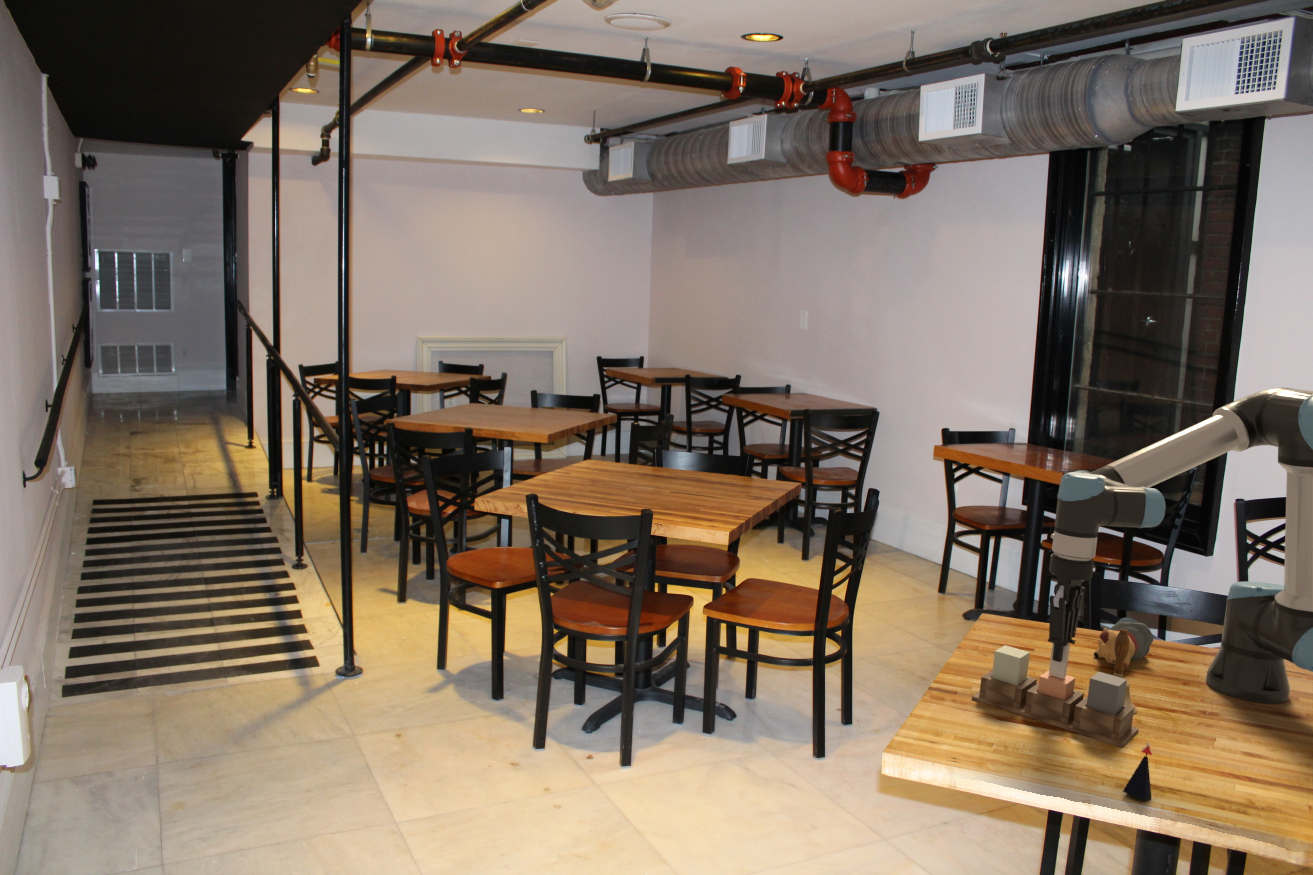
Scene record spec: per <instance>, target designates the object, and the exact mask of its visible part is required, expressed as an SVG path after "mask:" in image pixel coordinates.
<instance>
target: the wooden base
mask: <svg viewBox="0 0 1313 875" xmlns="http://www.w3.org/2000/svg"><path fill="white" fill-rule="evenodd" d="M992 672H993V669H992V670H991V671H989V672H986V674H983V675H982V676H981V678H980V685H979V691H978V692H977V693H975V694H974V695H972V696H971V700H972V701H973V700H974V701H978V702H979V703H983V704H986V705H989V706H992V707H995V708H999V709H1000V710H1001V709H1002V710H1005V711H1006V712H1007V711H1009V712H1011V713H1013V714H1017V715H1021V716H1022V717H1023V716H1024V717H1027V718H1029V719H1032V720H1034V721H1039V722H1041V723H1045V724H1048V725H1051V726H1054V727H1058V728H1059V729H1060V728H1061V729H1063V730H1067V731H1070V732H1072V733H1076V734H1078V735H1082V736H1085V737H1088V738H1091V739H1095V740H1097V741H1100V742H1104V743H1107V744H1110V745H1112V746H1116V747H1120V748H1123V747H1124V746H1125V745H1126V744H1128V742H1129V741H1130V740H1131V739H1132V738H1133V737H1134V736H1135V735H1136V734H1137V733H1138V732H1139V727H1136V726H1133V719H1134V715H1133V713H1134V707H1130V706H1127V705H1123V710H1122V711H1121V712H1120V713H1119V714H1118V715H1116V716H1115V715H1112V714H1109V713H1105V712H1102V711H1099V710H1096V709H1092V708H1089V707H1086V706H1087V698H1088V695H1087V696H1086V697H1085V692H1082V691H1080V690H1076V689H1074V693H1073V695H1072V696H1070V697H1069V698H1068V699H1067V700H1063V699H1060V698H1056V697H1053V696H1050V695H1046V694H1043V693H1040V692H1038V685H1039V682H1038V678H1035V677H1033V676H1029V675H1027V680H1026V681H1024V682H1023V683H1021V684H1020V685H1018V686H1017V685H1014V684H1010V683H1007V682H1004V681H1001V680H997V679H994V678H992Z"/></svg>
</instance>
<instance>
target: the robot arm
mask: <svg viewBox="0 0 1313 875" xmlns="http://www.w3.org/2000/svg"><path fill="white" fill-rule="evenodd" d="M1259 446H1273V447H1276V448H1277V464H1279V465H1280V466H1281V467H1282V468H1283V469H1284V470H1285V471H1286V487H1285V488H1286V494H1285V497H1286V498H1285V531H1284V532H1285V533H1284V536H1285V537H1284V572H1283V573H1284V574H1283V575H1284V577H1283V585H1282V584H1277V583H1271V582H1270V583H1268V582H1261V581H1259V582H1258V581H1236V582H1234V583H1232V584H1231V585H1230V587H1229V590H1228V595H1227V597H1226V605H1225V611H1224V617H1223V618H1224V619H1223V628H1222V633H1221V634H1222V635H1221V640H1220V641H1221V642H1220V647H1219V650H1218V651H1217V653H1216V655H1215V656H1214V658H1213V660H1212V661H1211V663H1210V665H1209V667H1208V669H1207V671H1206V678H1205V682H1206V683H1207V684H1208V686H1209V687H1211V688H1212V689H1214V690H1216V691H1217V692H1220V693H1222V694H1225V695H1228V696H1230V697H1233V698H1235V699H1236V698H1237V699H1241V700H1245V701H1250V702H1256V703H1261V704H1283V703H1285V702H1288V701H1289V699H1290V697H1289V696H1290V691H1291V689H1290V688H1291V687H1290V683H1289V679H1288V674H1287V669H1286V665H1285V664H1286V663H1285V661H1287V662H1289V663H1292V664H1293V665H1295V666H1296V667H1298V668H1299V669H1302V670H1306V671H1309V672H1311V673H1313V391H1312V390H1305V389H1297V388H1289V387H1274V388H1268V389H1265V390H1260V391H1258V392H1257V391H1256V392H1254V393H1252V394H1249V395H1246V396H1244V397H1241V398H1239V399H1237V400H1234V401H1232V402H1230V403H1227V404H1225V405H1223V406H1220V407H1218V408H1217V409H1214V411H1213V413H1212V416H1210V417H1209V418H1206V419H1205V420H1203V421H1202V420H1201V421H1199V422H1198V423H1196V424H1193V425H1191V426H1188V427H1187V428H1185V429H1182V430H1180V431H1178V432H1176V433H1174V434H1171V435H1169V436H1168V437H1165V438H1164V439H1161V440H1158V441H1157V442H1156V441H1155V442H1154V443H1152V444H1150V445H1148V446H1146V447H1143V448H1141V449H1140V450H1137V451H1135V452H1132V453H1130V454H1128V455H1126V456H1124V457H1122V458H1120V459H1117V460H1115V461H1113V462H1110V463H1109V464H1106V465H1104V466H1102V467H1099V468H1097V469H1095V470H1093V471H1090V470H1089V471H1088V470H1074V471H1071V472H1070V471H1069V472H1066V473H1064V474H1063V475H1062V476H1061V479H1060V484H1059V486H1058V487H1059V488H1058V493H1057V496H1056V498H1057V504H1056V511H1055V512H1056V513H1055V520H1054V528H1053V529H1054V530H1053V533H1051V534H1050V538H1051V539H1052V547H1051V551H1052V552H1053V553H1051V555H1050V560H1049V568H1048V571H1049V573H1050V574H1051V575H1052V576H1056V578H1057V579H1058V580H1057V582H1056V583H1055V585H1054V587H1053V588H1054V589H1053V594H1054V595H1052V594H1051V595H1050V596H1049V598H1048V600H1049V625H1048V626H1049V627H1048V628H1049V630H1048V631H1049V632H1048V639H1047V642H1049V643H1051V644H1052V648H1051V653H1050V662H1049V669H1048V670H1049V675H1051V676H1054V677H1058V678H1061V679H1064V678H1065V677H1066V675H1067V672H1068V671H1067V670H1068V662H1069V655H1070V648H1071V647H1070V646H1071V644H1072V645H1075V644H1076V642H1077V640H1075V639H1074V638H1075V637H1076V632H1077V626H1078V622H1079V618H1080V613H1081V608H1082V602H1083V598H1084V596H1085V592H1086V587H1085V586H1082V582H1084V581H1089V580H1091V579H1092V578H1093V574H1094V573H1093V572H1094V567H1095V566H1094V565H1095V561H1094V559H1093V558H1095V557H1096V550H1097V544H1098V536H1099V528H1100V526H1101V527H1125V528H1137V529H1142V528H1143V529H1144V528H1154V527H1157V526H1159V525H1160V524H1161V523H1162V521H1163V519H1164V517H1165V515H1166V509H1167V508H1166V500H1165V498H1164V495H1163V494H1162V492H1160V491H1159V490H1158V489H1157V488H1152V487H1153V486H1156V485H1158V484H1160V483H1163V482H1165V481H1166V480H1169V479H1171V478H1174V477H1176V476H1178V475H1180V474H1182V473H1185V472H1186V471H1189V470H1191V469H1193V468H1195V467H1197V466H1200V465H1202V464H1204V463H1206V462H1208V461H1212V460H1214V459H1216V458H1218V457H1220V456H1222V455H1224V454H1226V453H1229V452H1231V451H1234V452H1238V453H1240V452H1244V451H1246V450H1248V449H1251V448H1253V447H1259Z"/></svg>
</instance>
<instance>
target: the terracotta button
mask: <svg viewBox="0 0 1313 875" xmlns="http://www.w3.org/2000/svg"><path fill="white" fill-rule="evenodd" d="M1038 679H1039V680H1038V683H1039V685H1038V692H1040V693H1043V694H1046V695H1050V696H1053V697H1056V698H1060V699H1063V700H1067V699H1068V698H1069V697H1070V696H1072V695H1073V693H1074V690H1075V682H1076V677H1074V676H1070V675H1068V674H1066V677H1065V678H1064V679H1061V678H1058V677H1054V676H1051V675H1049V669H1048V670H1046V671H1045V672H1044V673H1042V674H1041V675H1039V678H1038Z"/></svg>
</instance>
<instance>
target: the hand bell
mask: <svg viewBox="0 0 1313 875" xmlns="http://www.w3.org/2000/svg"><path fill="white" fill-rule="evenodd" d="M1114 650H1115V656H1116V662H1115V664H1114V669H1113V676H1116V677H1120V678H1123V679H1124V670H1125V669H1124V661H1125V658H1126V656H1127V654H1128V651H1129V637H1128V631H1127V629H1120V632H1119V634H1118V635H1117V638H1116V640H1115V647H1114ZM1130 693H1131V691H1130V682H1129V681H1128V680H1127V683H1126V691H1125V698H1124V705H1127V706H1130V707H1134V713H1133V716H1134V715H1136V713H1138V709H1137V707H1136V705H1135V704H1134V703H1133V701H1132V698H1131V694H1130Z"/></svg>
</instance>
